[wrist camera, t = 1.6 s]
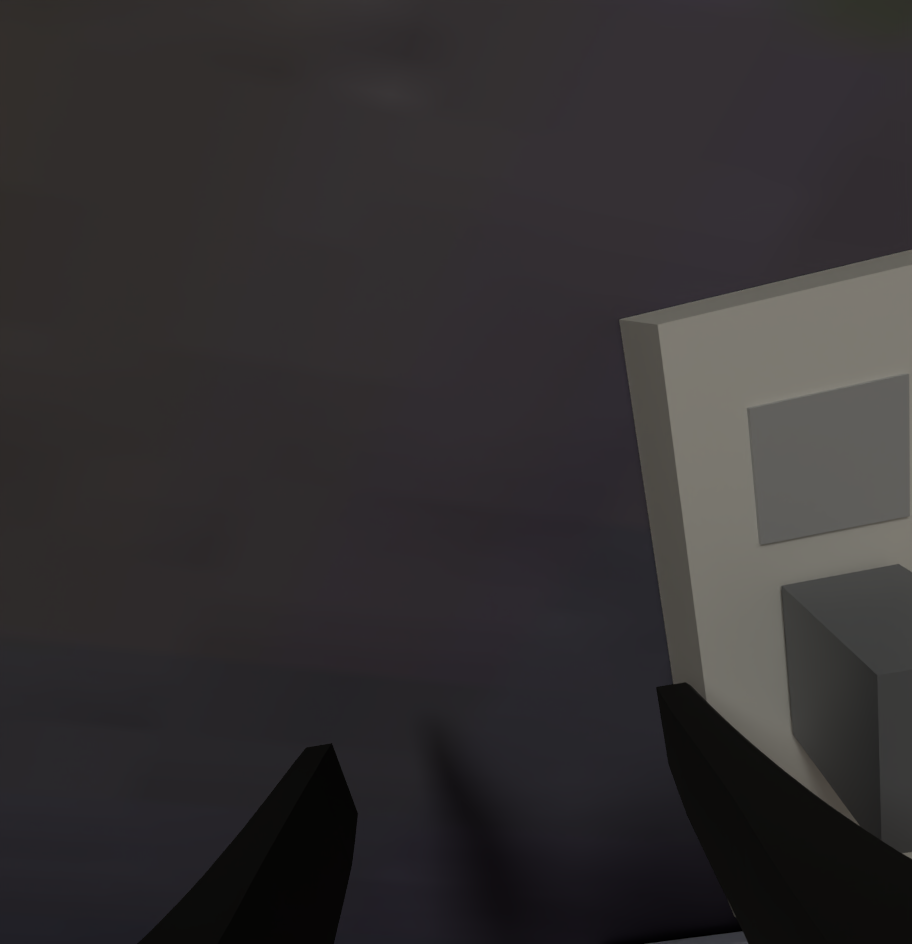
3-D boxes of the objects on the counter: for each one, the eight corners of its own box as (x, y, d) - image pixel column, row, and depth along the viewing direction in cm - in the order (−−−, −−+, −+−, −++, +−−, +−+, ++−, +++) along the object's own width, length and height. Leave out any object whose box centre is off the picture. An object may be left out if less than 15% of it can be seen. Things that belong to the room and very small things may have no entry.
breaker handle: (900, 717, 13) (1022, 836, 10) (792, 734, 13) (881, 855, 10) (899, 564, 12) (1034, 648, 9) (781, 585, 12) (877, 675, 9)
